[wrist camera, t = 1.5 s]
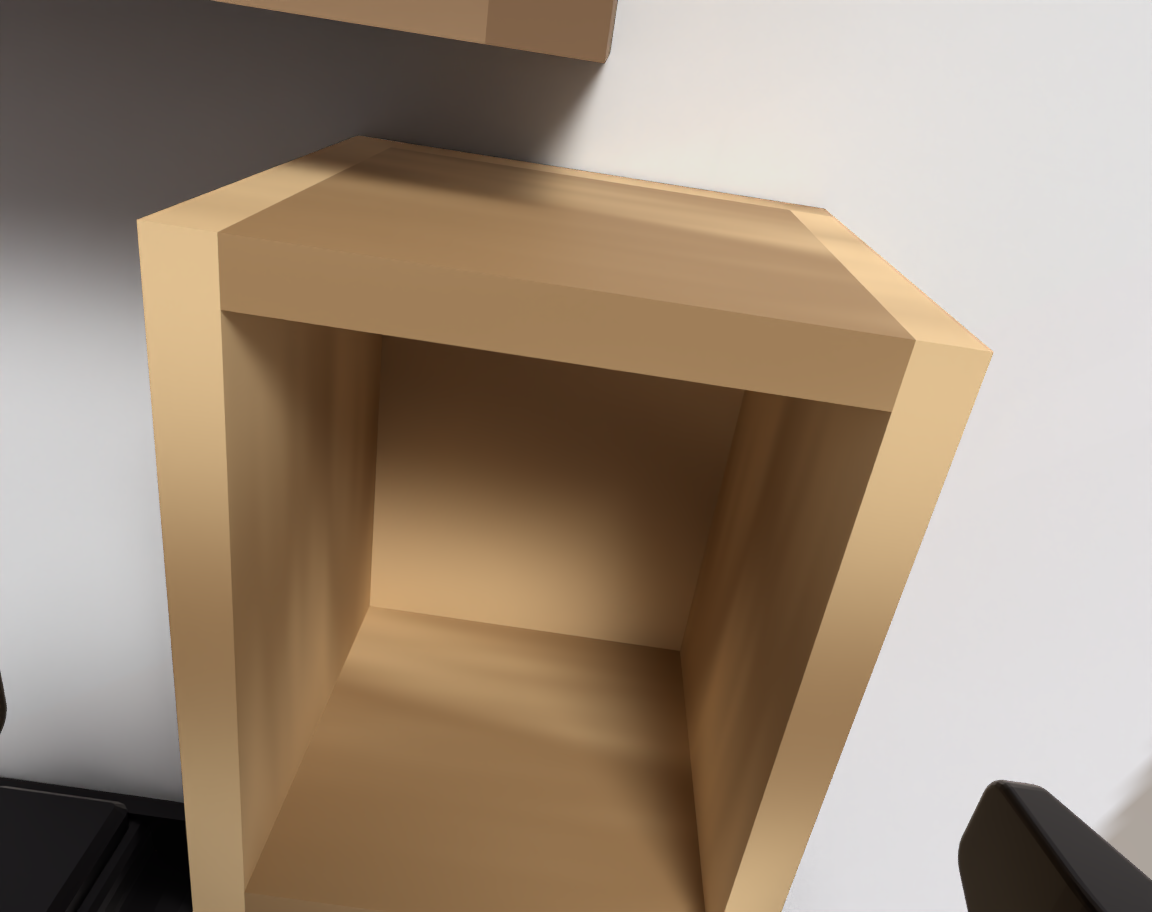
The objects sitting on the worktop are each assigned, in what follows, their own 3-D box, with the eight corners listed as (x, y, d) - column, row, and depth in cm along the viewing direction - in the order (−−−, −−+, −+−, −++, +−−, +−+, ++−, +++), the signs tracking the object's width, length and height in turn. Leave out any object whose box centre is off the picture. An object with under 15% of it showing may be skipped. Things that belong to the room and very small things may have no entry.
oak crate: (704, 660, 15) (749, 996, 10) (343, 607, 15) (193, 919, 10) (824, 208, 12) (993, 352, 7) (358, 135, 12) (136, 219, 6)
